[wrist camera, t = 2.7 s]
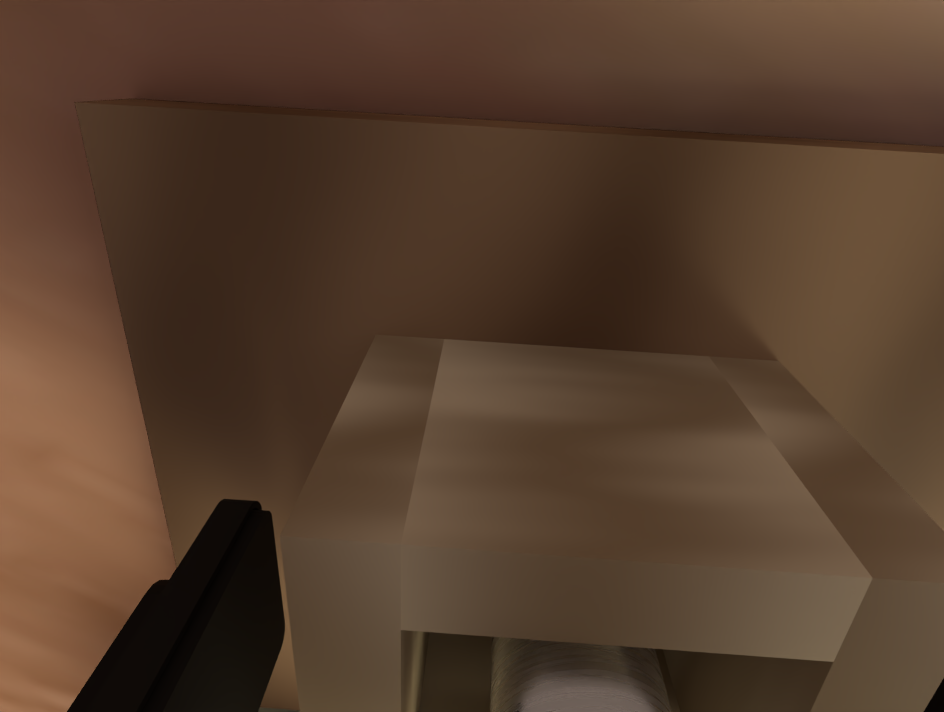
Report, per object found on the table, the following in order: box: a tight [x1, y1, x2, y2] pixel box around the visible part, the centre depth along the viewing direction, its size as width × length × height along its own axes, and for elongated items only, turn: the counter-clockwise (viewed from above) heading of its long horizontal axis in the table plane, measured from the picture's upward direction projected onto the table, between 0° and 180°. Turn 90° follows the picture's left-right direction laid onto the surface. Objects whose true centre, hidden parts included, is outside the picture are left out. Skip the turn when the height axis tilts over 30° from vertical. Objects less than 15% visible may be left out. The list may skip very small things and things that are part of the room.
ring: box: [280, 335, 944, 712], centre depth 10 cm, size 7×7×5 cm
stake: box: [490, 637, 672, 712], centre depth 9 cm, size 2×2×6 cm
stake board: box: [75, 99, 944, 710], centre depth 12 cm, size 16×14×2 cm
